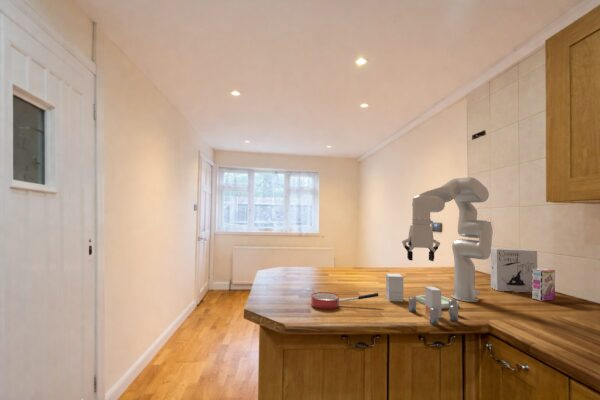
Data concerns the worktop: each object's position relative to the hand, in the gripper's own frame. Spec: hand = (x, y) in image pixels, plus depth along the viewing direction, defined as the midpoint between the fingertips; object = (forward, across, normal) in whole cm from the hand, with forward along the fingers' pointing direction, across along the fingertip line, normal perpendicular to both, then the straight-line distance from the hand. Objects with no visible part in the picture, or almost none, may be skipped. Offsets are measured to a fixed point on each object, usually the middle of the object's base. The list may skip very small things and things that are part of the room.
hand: (420, 260), depth 125 cm
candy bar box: (+23, -79, -23) cm, 85 cm away
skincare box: (+24, -4, +3) cm, 24 cm away
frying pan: (+24, +32, -10) cm, 42 cm away
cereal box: (+23, -76, -40) cm, 89 cm away
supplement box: (+24, +4, -19) cm, 31 cm away
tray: (+23, -15, -13) cm, 31 cm away
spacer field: (+23, -6, +2) cm, 24 cm away
